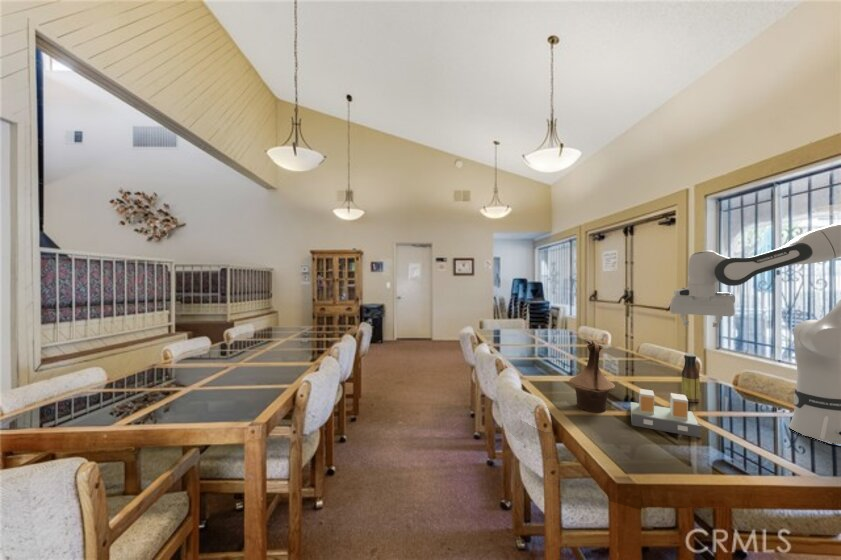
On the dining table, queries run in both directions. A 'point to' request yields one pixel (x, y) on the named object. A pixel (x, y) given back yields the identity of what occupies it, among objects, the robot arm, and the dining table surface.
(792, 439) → the dining table surface
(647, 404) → the faced carton
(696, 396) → the sauce bottle
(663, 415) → the shelf
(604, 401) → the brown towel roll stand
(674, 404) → the turned carton
